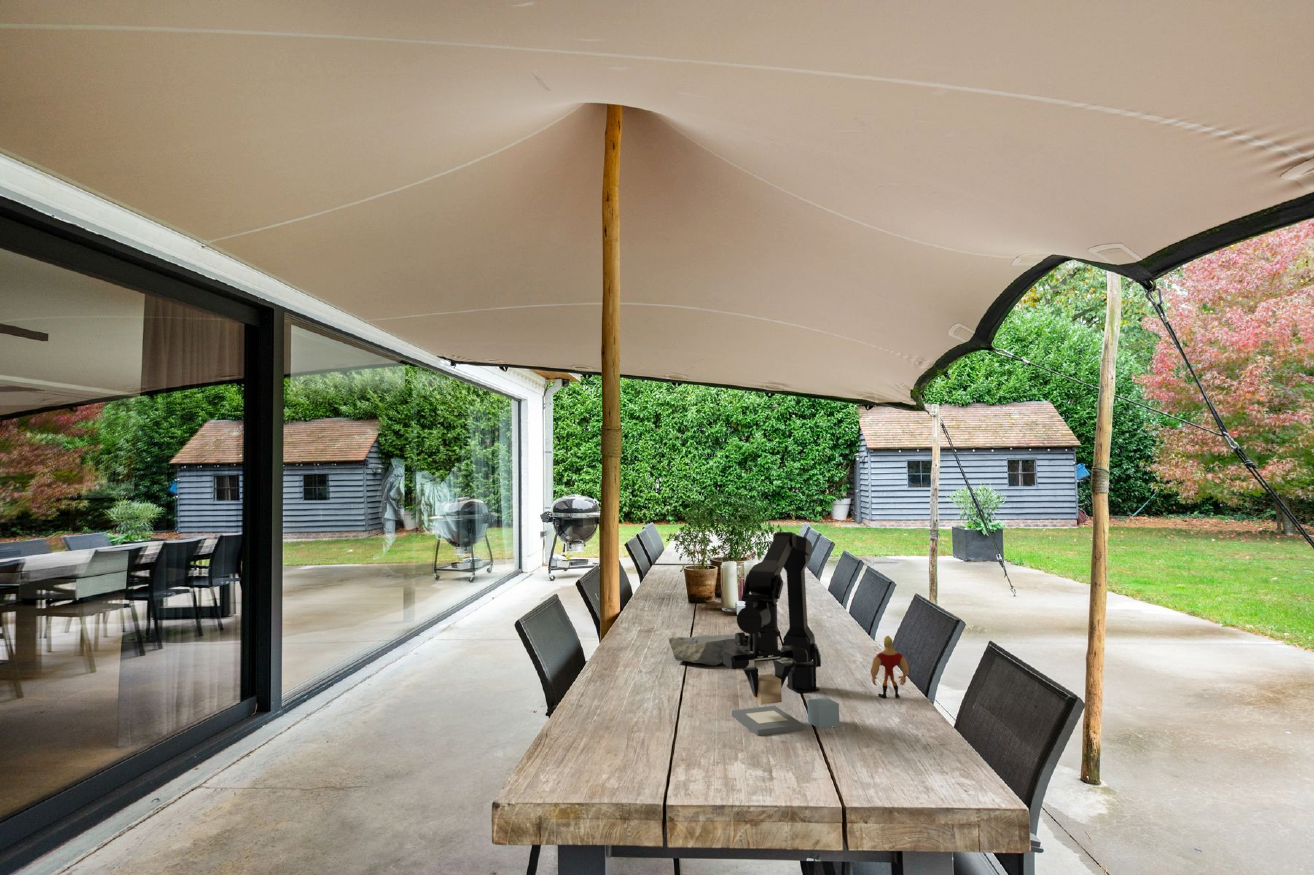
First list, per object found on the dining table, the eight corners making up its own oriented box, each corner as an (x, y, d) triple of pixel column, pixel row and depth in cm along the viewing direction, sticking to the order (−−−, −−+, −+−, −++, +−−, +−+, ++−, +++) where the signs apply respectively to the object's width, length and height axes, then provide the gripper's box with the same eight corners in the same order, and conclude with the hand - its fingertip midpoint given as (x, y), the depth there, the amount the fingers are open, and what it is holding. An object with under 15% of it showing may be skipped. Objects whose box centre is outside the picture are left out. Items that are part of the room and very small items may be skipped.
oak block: (771, 696, 168) (771, 673, 169) (781, 702, 164) (781, 679, 164) (751, 698, 167) (751, 675, 167) (761, 704, 162) (760, 681, 162)
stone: (656, 635, 222) (697, 620, 243) (656, 663, 221) (697, 646, 242) (725, 644, 209) (762, 628, 230) (725, 674, 208) (763, 655, 229)
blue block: (827, 719, 167) (827, 697, 167) (839, 726, 162) (838, 703, 162) (807, 722, 165) (807, 699, 166) (819, 729, 161) (818, 706, 161)
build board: (774, 710, 173) (774, 705, 173) (803, 729, 160) (803, 723, 160) (731, 715, 170) (731, 710, 170) (757, 735, 157) (757, 729, 157)
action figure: (906, 694, 185) (904, 634, 186) (911, 699, 181) (909, 637, 182) (868, 695, 185) (866, 634, 186) (873, 699, 181) (871, 637, 182)
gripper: (785, 616, 177) (787, 682, 176) (713, 621, 171) (714, 690, 170) (808, 625, 166) (810, 695, 165) (732, 631, 161) (733, 704, 160)
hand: (766, 695), depth 165 cm, fingers closed on oak block, 5 cm apart
